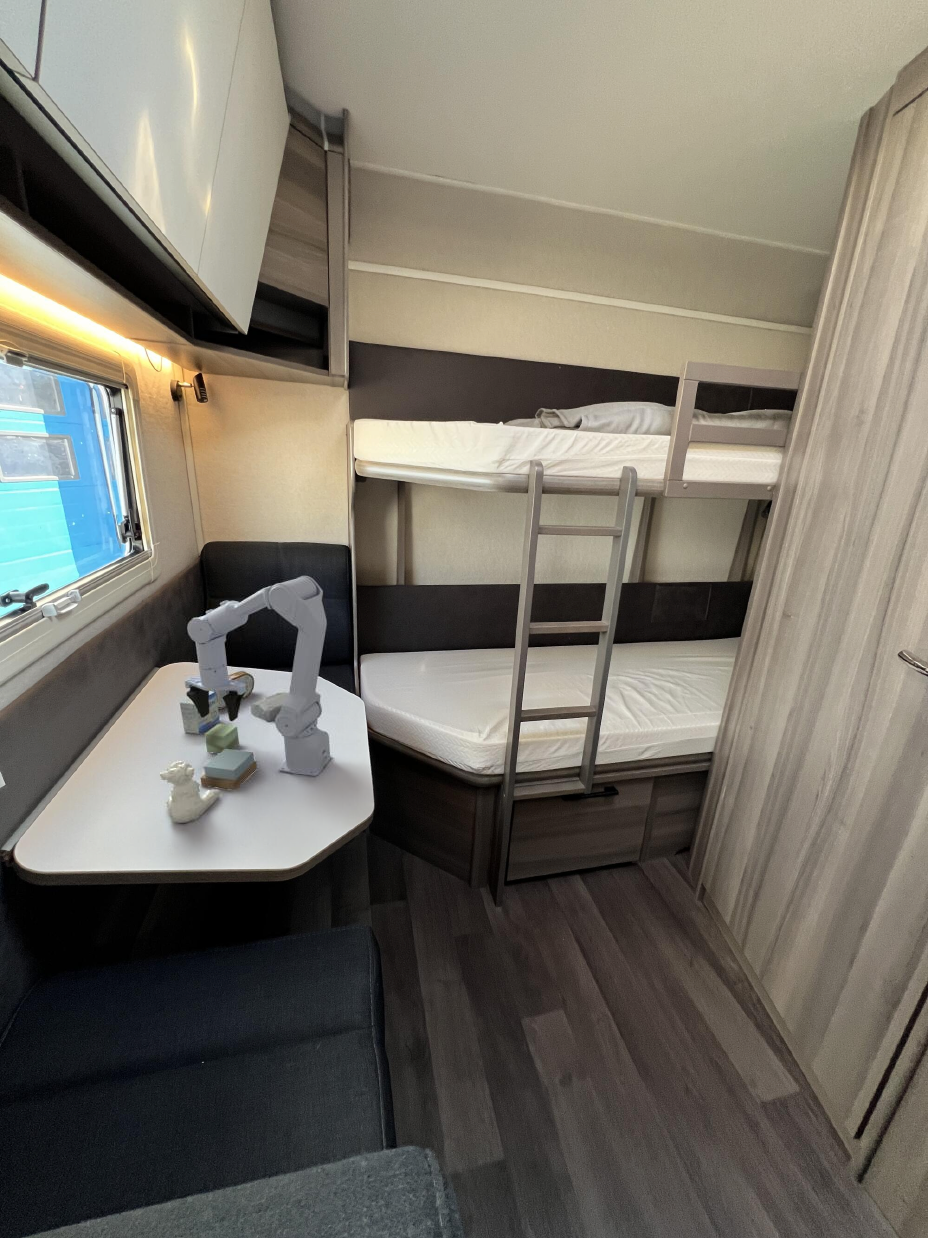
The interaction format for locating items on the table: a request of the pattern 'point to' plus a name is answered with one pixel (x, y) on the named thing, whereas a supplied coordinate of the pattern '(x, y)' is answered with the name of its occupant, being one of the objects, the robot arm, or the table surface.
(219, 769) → the slate blue slab
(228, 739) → the green cube
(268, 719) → the stone block
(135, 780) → the table surface
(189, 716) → the medicine box
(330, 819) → the table surface
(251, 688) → the tin
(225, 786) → the walnut slab
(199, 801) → the seated beast figurine
